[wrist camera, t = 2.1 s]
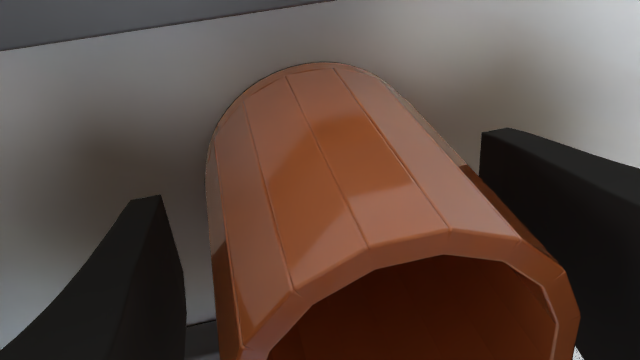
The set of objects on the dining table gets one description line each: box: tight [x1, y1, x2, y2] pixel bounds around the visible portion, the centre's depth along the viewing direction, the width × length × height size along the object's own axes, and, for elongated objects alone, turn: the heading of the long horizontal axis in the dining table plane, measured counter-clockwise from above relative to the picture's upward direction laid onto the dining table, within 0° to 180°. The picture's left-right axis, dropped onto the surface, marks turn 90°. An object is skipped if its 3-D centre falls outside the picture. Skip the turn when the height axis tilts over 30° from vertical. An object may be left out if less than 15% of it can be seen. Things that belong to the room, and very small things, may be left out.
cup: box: [205, 62, 581, 360], centre depth 11 cm, size 5×5×6 cm
